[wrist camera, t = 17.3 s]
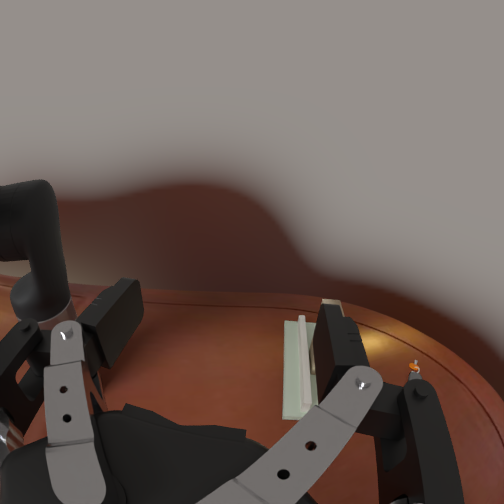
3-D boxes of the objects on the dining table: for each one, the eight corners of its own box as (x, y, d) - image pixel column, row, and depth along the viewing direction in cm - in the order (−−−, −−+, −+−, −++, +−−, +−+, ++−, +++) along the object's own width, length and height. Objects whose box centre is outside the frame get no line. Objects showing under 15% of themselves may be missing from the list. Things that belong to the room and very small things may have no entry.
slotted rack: (356, 419, 35) (364, 408, 33) (282, 419, 36) (286, 407, 34) (337, 328, 57) (341, 315, 55) (284, 324, 57) (286, 311, 56)
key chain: (423, 399, 37) (427, 394, 37) (407, 397, 38) (410, 392, 38) (418, 355, 49) (421, 350, 48) (404, 352, 50) (406, 347, 49)
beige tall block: (310, 374, 43) (327, 321, 38) (308, 351, 49) (322, 298, 44) (327, 375, 43) (346, 322, 38) (324, 352, 48) (339, 300, 44)
